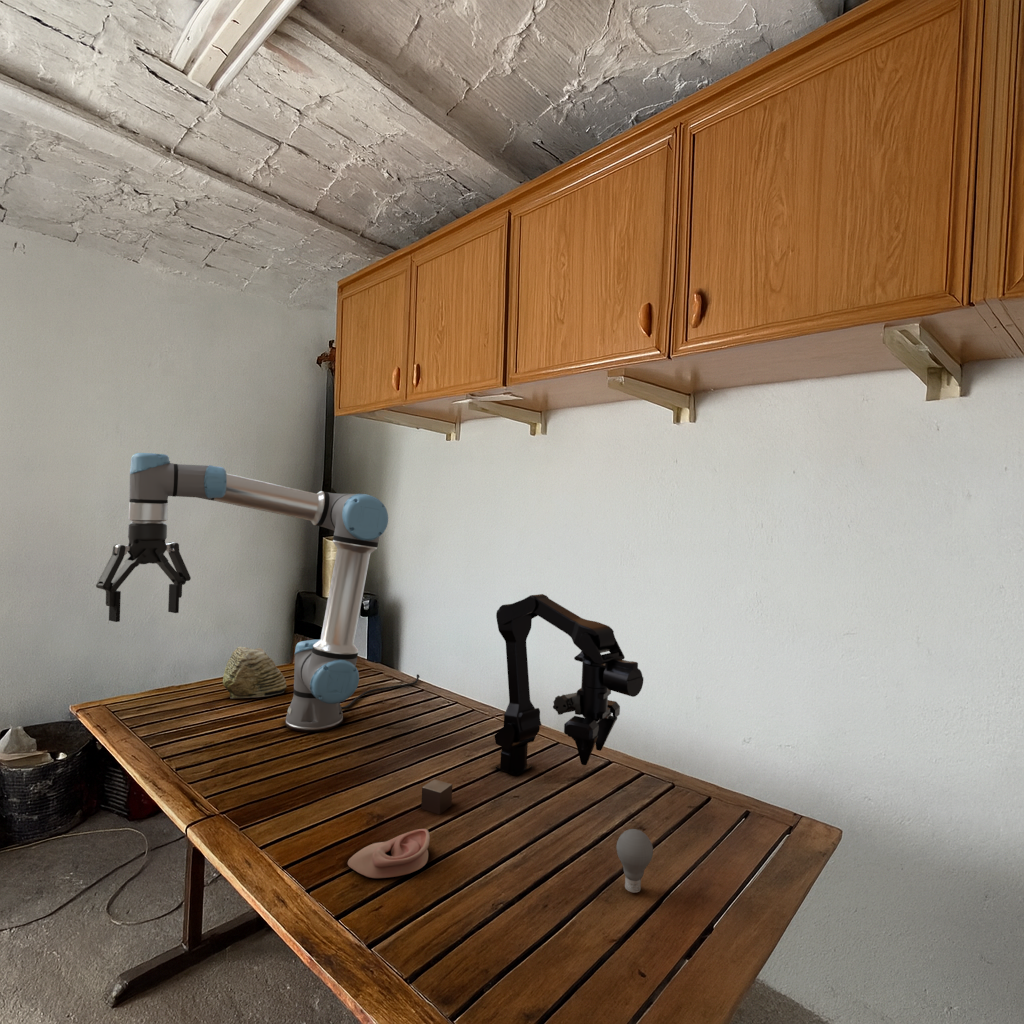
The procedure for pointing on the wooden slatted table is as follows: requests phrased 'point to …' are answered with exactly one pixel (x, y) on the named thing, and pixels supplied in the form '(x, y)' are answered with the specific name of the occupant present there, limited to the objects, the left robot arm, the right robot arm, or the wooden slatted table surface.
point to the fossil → (252, 674)
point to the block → (436, 796)
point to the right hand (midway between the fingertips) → (591, 757)
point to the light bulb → (634, 857)
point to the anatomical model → (393, 856)
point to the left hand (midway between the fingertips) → (145, 616)
